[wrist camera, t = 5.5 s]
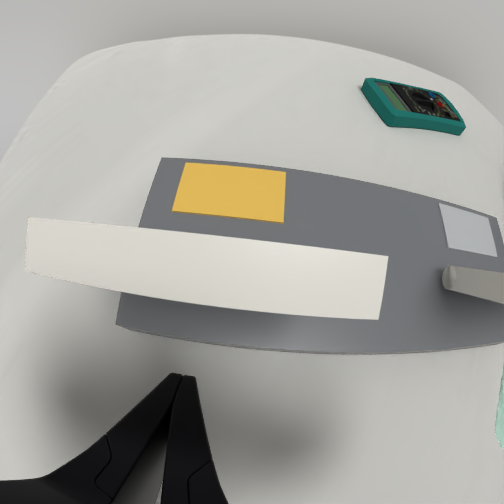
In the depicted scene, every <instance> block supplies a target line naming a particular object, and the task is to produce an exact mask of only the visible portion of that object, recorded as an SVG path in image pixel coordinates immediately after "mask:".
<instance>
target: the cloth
mask: <svg viewBox="0 0 504 504" xmlns="http://www.w3.org/2000/svg"><path fill="white" fill-rule="evenodd" d="M495 433H496V437H497V440H498V441H499V444H500V447H501V446H502V445H503V448H504V367H503V376H502V380H501V389H500V394H499V402H498V406H497V414H496V424H495Z"/></svg>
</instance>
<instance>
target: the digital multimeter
mask: <svg viewBox="0 0 504 504" xmlns="http://www.w3.org/2000/svg"><path fill="white" fill-rule="evenodd" d="M362 91H363V93H364V95H365V96H366V98H367V99H368V101H369V103H370V104H371V105H372V107H373V108H374V109H375V111H376V112H377V113H378V115H379V116H380V117H381V118H382V120H383V121H384V122H385V123H386V125H388V126H391V127H406V128H419V129H427V130H434V131H440V132H445V133H450V134H454V135H461V133H462V132H463V131H464V129H465V128H466V126H465V124H464V121H463V119H462V118H461V116H460V114H459V113H458V111H457V110H456V109H455V107H454V106H453V105H452V104H451V103H450V101H449V100H448V99H447V98H446V97H444V96H443V95H442V94H441V93H439V92H436V91H432V90H427V89H423V88H419V87H414V86H410V85H405V84H401V83H396V82H391V81H386V80H381V79H376V78H366V79H365V81H364V83H363V86H362Z"/></svg>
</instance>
